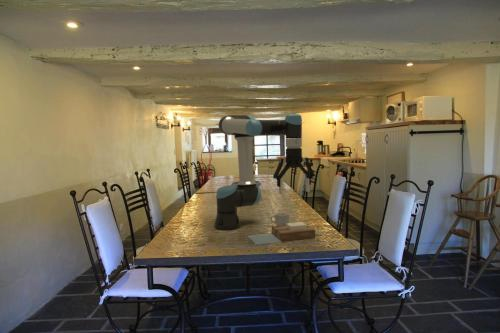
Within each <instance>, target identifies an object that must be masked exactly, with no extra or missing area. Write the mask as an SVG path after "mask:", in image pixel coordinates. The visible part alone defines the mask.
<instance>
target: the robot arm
mask: <svg viewBox="0 0 500 333" xmlns="http://www.w3.org/2000/svg"><path fill="white" fill-rule="evenodd" d="M302 119H303V118H302V115H301V114H299V113H298V114H297V113H296V114H295V113H294V114H286V115H285V119H256V118H254V116H252V115H247V114H239V115H238V114H236V115H235V114H228V115H224V116H222V117H221V118H220V120H219V122H218V129H219V131H220V132H221V133H222V134H224V135H227V136H233V137H234V140H236V143H237V159H238V176H239V178H238V180H239V181H238V182H237V183H236V185H232V184H231V185H224V186H221V187H219V188H217V189H216V194H215V195H216V196H215V197H216V217H215V219H214V223H213V224H214V225H213V226H214V227H213V228H215V229H217V230H224V231H225V230H226V231H229V230H235V229H238V228H240V227H241V220H240V218H239V214H238V208H242V207H247V206H248V207H252V206H255V205H258V204H259V202H260V200H261V198H262V191H261V188H260V186H258V185H257V182H256V181H255V179H254V158H253V143H252V141H253V139H254V138H255V137H260V136H261V137H262V136H264V137H265V136H267V137H268V136H276V137H278V136H279V137H280V136H285V147H286V148H285V158H279V160H278V164H277V167H276V168H275V172H274V173H273V176H272V178H273V179H274V180H275V179H276V186H277V187H278V193H279V194H280V195H283V179H282V178H283V177H284V175H285V174H286V173H287V171H288V170H289V169H293V168H296V169H297V168H298V169H299V170H301V171H302V173H303V174H304V176H306V177H305V180H304V181H305V192H307V193H310V185H312V178H314V177H315V176H316V175H315V172H314V171H313V169H312V166H311V163H310V161H309V160H310V159H309V158H308V157H303V149H302V147H303V139H302V138H303V131H302V130H303V129H302V128H303V127H302V126H303V123H302V122H303V120H302ZM285 163H286V164H285ZM302 163H304V165H305V167H306V168H305V167H304V165H303V164H302ZM284 164H285V165H284ZM282 167H283V169H282ZM306 169H307V170H306Z"/></svg>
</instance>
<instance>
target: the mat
mask: <svg viewBox="0 0 500 333" xmlns="http://www.w3.org/2000/svg"><path fill="white" fill-rule="evenodd" d="M247 237H248V239H250V241H252V243H253V244H254V245H256V246H262V245H263V246H264V245H270V244H277V243H278V244H280V243H282V241H281V240H279V239H278V238H277V237H275V236H274V235H273V234H272V232H271V233H270V232H269V233H268V232H267V233H261V234H260V233H259V234H253V235H251V234H250V235H247Z"/></svg>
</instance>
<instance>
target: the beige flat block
mask: <svg viewBox="0 0 500 333" xmlns="http://www.w3.org/2000/svg"><path fill="white" fill-rule="evenodd" d="M307 226H308V224H306V223H304V221H299V222H297V221H296V222H289V223H287V224H286V227H287V228H288V229H290V230H298V229H307Z"/></svg>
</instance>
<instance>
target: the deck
mask: <svg viewBox="0 0 500 333" xmlns="http://www.w3.org/2000/svg"><path fill="white" fill-rule="evenodd" d="M271 234H272V235H274V236H275V237H276V238H278V239H279V240H280V241H281V243H284V242H291V241H292V242H293V241H300V240H307V239H315V238H316V230H315V229H314V228H312V227H310V226H309V225H307V229H298V230H290V229H288V228H287V227H286V225H282V226H277V225H276V226H275V225H273V226H271Z"/></svg>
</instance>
